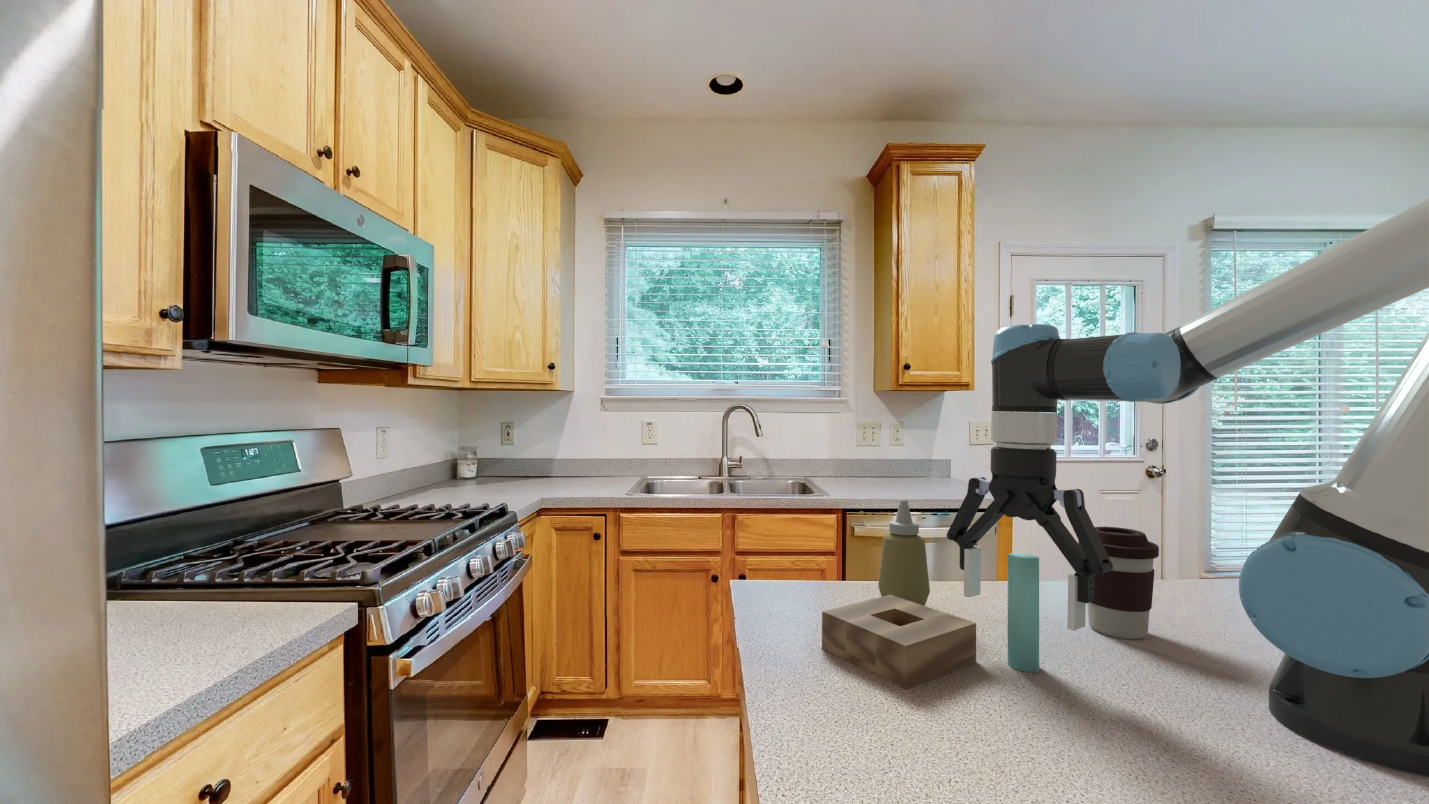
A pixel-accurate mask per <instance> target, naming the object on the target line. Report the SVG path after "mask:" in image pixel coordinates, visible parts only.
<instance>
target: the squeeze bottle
mask: <svg viewBox="0 0 1429 804" xmlns="http://www.w3.org/2000/svg"><path fill="white" fill-rule="evenodd" d="M910 510H911V509H910V506H909V501H908V500H907V499H900V500H899V504H898V509H897V513H896V517H895V520H889V522H888V529H889V530H888V531H889V533H887V534H885V535H884V536H883V538H882V539H883V540H882V547H881V548H882V549H881V556H880V557H881V559H880V566H879V575H878V590H879V594H880V597H883V596H887V595H893V596H896V597H899V598H902V599H905V600H908V601H911V602H914V603H917V604H920V605H923V606H926V604H927V600H928V597H929V595H930V592H931V590H930V580H929V579H930V577H929V569H928V561H927V560H928V559H927V550H926V549H927V548H926V540H925V539H924V538H923V537H922V536H921V535H919V534H920V533H919V532H920V525H919V523H918V522H916V521H913V520H912V515H911V511H910Z"/></svg>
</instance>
